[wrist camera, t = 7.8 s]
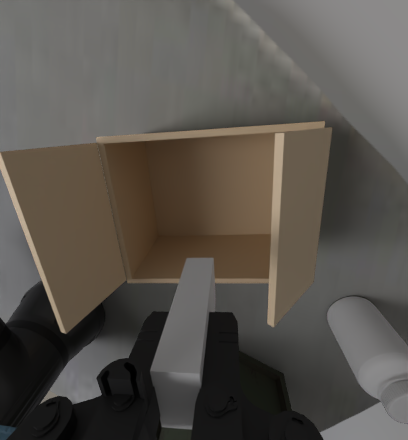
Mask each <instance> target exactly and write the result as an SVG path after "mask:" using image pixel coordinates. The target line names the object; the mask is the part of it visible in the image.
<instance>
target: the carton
mask: <svg viewBox="0 0 408 440" xmlns="http://www.w3.org/2000/svg"><path fill="white" fill-rule="evenodd" d="M324 125H325V121H321V122H306V123H292V124H278V125H264V126H249V127H235V128H221V129H207V130H192V131H178V132H164V133H149V134H135V135H121V136H107V137H96V139H97V144H98V149H99V153H100V158H101V162H102V167H103V172H104V176H105V181H106V185H107V190H108V195H109V199H110V204H111V208H112V213H113V218H114V222H115V227H116V232H117V236H118V241H119V245H120V250H121V255H122V259H123V264H124V268H125V273H126V278H127V282H128V283H179V280H180V277H181V274H182V271H183V268H184V265H185V262H186V259H187V258H214V275H215V283H269V270H270V246H271V221H272V197H273V172H274V148H275V133H282V132H291V131H300V130H309V129H318V128H324Z"/></svg>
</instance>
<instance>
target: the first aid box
mask: <svg viewBox="0 0 408 440" xmlns="http://www.w3.org/2000/svg"><path fill="white" fill-rule="evenodd" d="M239 370H240V384H241V388H242V390H243V393H244V394H245V396H246V397H247V399H248V400H249V401H250V402H251V403H252V404H253V405H255V406H256V407H258V408H260V409H262V410H264V411H266V412H269V413H271V414H273V415H276V414H279V413H281V412H283V411H292V409H291V405H290V401H289V396H288V392H287V388H286V383H285V379H284V375H283V373H281V372H279V371H277V370H275V369H273V368H271V367H269V366H267V365H265V364H263V363H261V362H260V361H258V360H256V359H254V358H252V357H250V356H248V355H246V354H244V353H242V352H240V351H239ZM191 434H192V430H191V429H178V428H166V427H162V426H161V421H160V420H159V424H158V428H157V433H156V437H157V440H191Z"/></svg>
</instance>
